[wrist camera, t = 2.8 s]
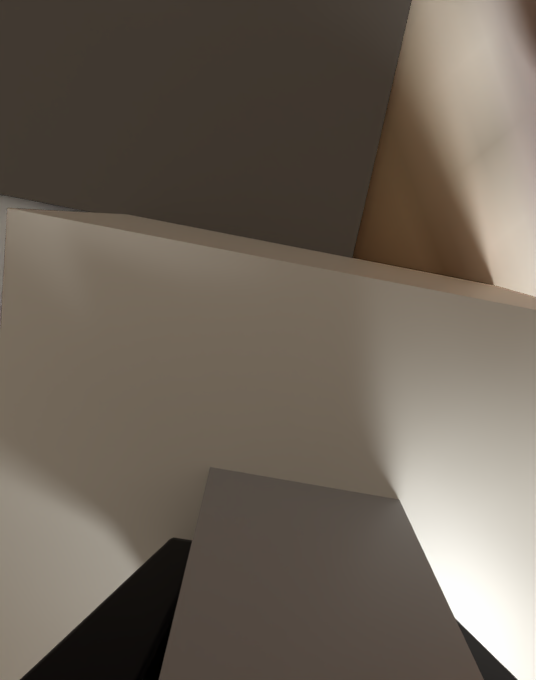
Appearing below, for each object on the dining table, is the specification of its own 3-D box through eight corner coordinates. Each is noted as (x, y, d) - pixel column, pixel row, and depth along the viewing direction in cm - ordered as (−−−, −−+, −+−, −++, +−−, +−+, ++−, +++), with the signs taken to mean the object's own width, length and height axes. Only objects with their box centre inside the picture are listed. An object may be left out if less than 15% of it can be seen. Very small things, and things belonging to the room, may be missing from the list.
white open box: (401, 590, 16) (626, 1213, 6) (91, 539, 15) (-234, 1121, 5) (495, 285, 13) (1155, 471, 3) (128, 214, 13) (-340, 189, 3)
